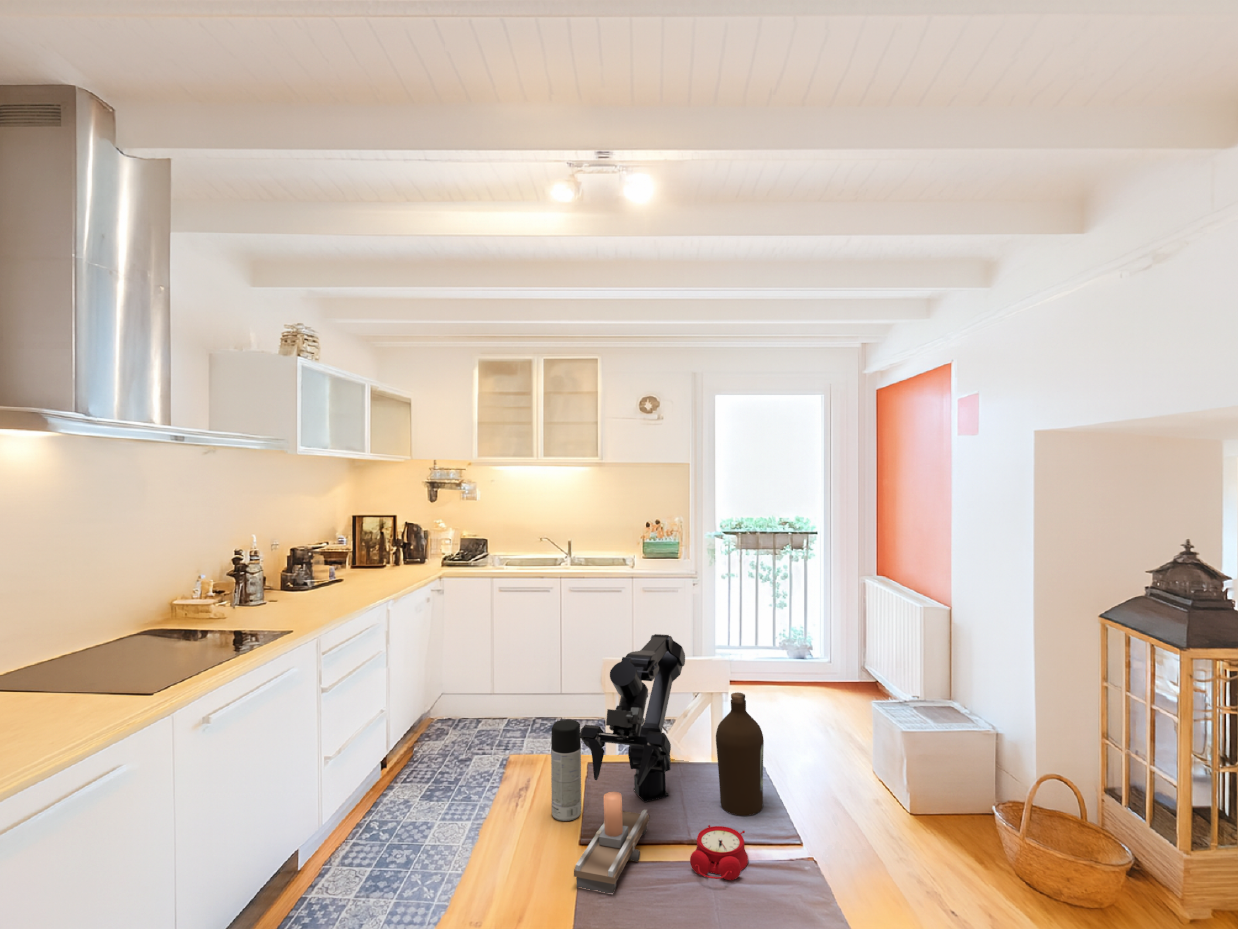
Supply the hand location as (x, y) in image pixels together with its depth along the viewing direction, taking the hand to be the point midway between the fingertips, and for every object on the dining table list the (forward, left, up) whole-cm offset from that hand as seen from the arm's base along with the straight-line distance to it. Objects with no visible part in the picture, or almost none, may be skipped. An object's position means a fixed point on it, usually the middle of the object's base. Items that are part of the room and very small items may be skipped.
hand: (616, 782), depth 132 cm
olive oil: (-32, -3, -14) cm, 35 cm away
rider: (+2, +2, -10) cm, 10 cm away
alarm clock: (-16, +13, -14) cm, 25 cm away
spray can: (+5, -17, -14) cm, 23 cm away
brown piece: (+2, +2, -14) cm, 14 cm away
